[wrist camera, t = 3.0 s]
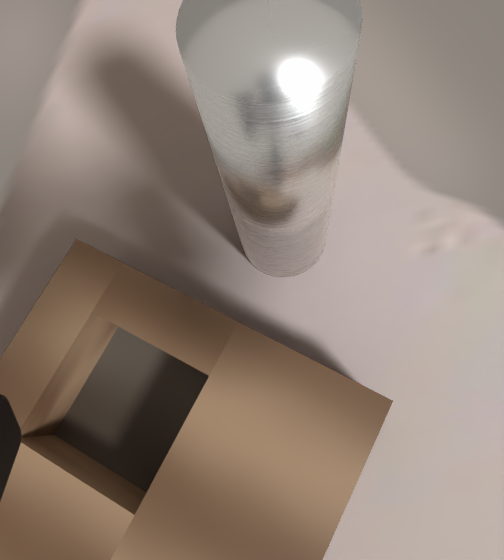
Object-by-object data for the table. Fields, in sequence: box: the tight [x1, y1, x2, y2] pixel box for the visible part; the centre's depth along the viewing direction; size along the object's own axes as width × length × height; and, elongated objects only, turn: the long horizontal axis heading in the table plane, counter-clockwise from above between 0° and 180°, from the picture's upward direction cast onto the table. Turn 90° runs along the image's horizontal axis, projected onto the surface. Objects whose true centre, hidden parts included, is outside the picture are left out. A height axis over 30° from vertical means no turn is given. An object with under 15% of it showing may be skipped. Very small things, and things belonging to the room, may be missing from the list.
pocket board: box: [0, 239, 393, 560], centre depth 18 cm, size 14×14×4 cm
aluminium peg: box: [176, 0, 362, 277], centre depth 16 cm, size 4×4×13 cm
